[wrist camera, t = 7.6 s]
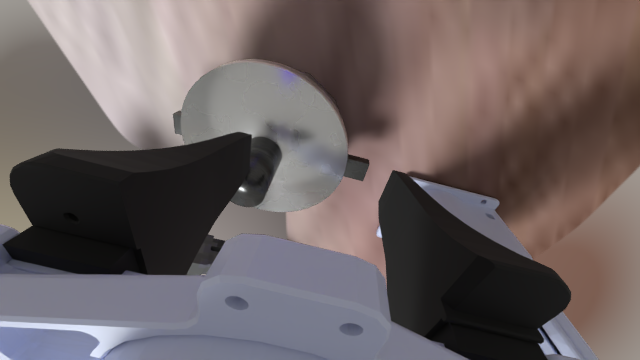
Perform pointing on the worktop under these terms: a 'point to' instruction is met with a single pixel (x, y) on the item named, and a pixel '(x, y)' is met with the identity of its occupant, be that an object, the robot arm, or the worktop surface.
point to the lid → (272, 131)
